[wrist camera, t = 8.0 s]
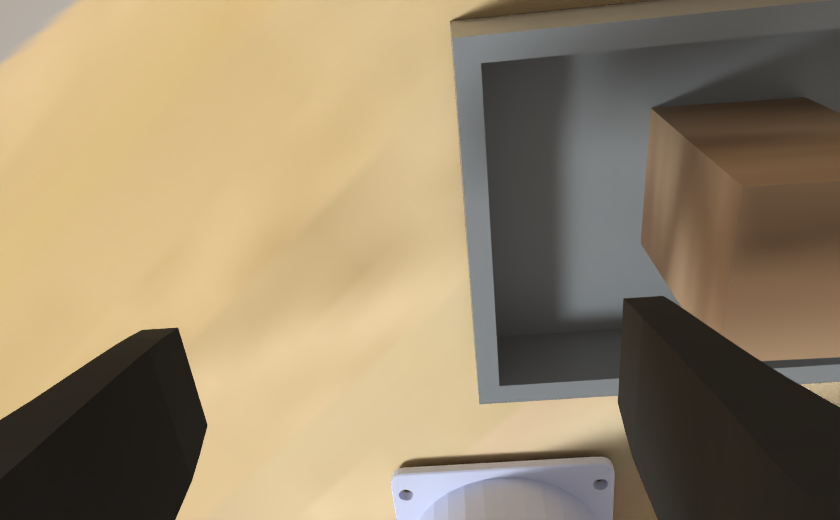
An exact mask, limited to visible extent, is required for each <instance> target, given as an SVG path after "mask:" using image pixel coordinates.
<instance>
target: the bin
mask: <svg viewBox="0 0 840 520" xmlns="http://www.w3.org/2000/svg"><path fill="white" fill-rule="evenodd" d="M450 25H451V39H452V52H453V65H454V79H455V92H456V105H457V118H458V132H459V145H460V158H461V171H462V185H463V198H464V211H465V225H466V238H467V251H468V264H469V278H470V291H471V304H472V317H473V331H474V344H475V356H476V368H477V379H478V391H479V403H480V404H491V403H507V402H523V401H539V400H555V399H571V398H587V397H603V396H618V391H619V372H620V353H621V334H622V315H623V298H637V297H653V296H664V297H666V298H668V299H669V300H671V301H672V302H674V303H676V304H677V305H679V306H680V304H679V303H678V301H677V300H676V298H675V296H674V295H673V293H672V292H671V290H670V289H669V287H668V286H667V284H666V282H665V281H664V279H663V278H662V276H661V275H660V273H659V271H658V270H657V268H656V267H655V265H654V264H653V262H652V260H651V259H650V257H649V256H648V254H647V253H646V251H645V249H644V248H643V246H642V245H641V231H642V218H643V205H644V191H645V178H646V165H647V152H648V139H649V126H650V112H651V108H661V107H675V106H688V105H702V104H716V103H730V102H744V101H757V100H771V99H785V98H799V97H806V98H808V99H810V100H812V101H815V102H817V103H819V104H821V105H823V106H825V107H828V108H830V109H832V110H834V111H836V112H838V113H840V0H650V1H640V2H631V3H621V4H611V5H601V6H591V7H582V8H572V9H562V10H552V11H542V12H533V13H523V14H513V15H503V16H493V17H484V18H474V19H464V20H454V21H450ZM680 307H681V306H680ZM762 362H763V363H765V364H766V365H768V366H770V367H771V368H773V369H775V370H776V371H778V372H779V373H781V374H783V375H784V376H786V377H787V378H789V379H791V380H793V381H794V382H796V383H798V384H810V383H826V382H840V357H833V358H813V359H793V360H773V361H762Z"/></svg>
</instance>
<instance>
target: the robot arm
mask: <svg viewBox="0 0 840 520" xmlns="http://www.w3.org/2000/svg"><path fill="white" fill-rule="evenodd" d="M618 405H619V409H620V412H621V416H622V420H623V424H624V428H625V432H626V435H627V439H628V443H629V446H630V450H631V453H632V457H633V460H634V462H635V465H636V467H637V470H638V472H639V475H640V477H641V479H642V482H643V484H644V487H645V489H646V492H647V494H648V496H649V499H650V501H651V504H652V506H653V508H654V511H655V513H656V516H657V518H658V520H840V407H838V406H836V405H834V404H833V403H831V402H829V401H827V400H825V399H824V398H822V397H820V396H818V395H817V394H815V393H813V392H812V391H810V390H808V389H806V388H805V387H803V386H801V385H800V384H798V383H796V382H794V381H793V380H791V379H789V378H787V377H786V376H784V375H783V374H781V373H779V372H778V371H776V370H775V369H773V368H771V367H770V366H768V365H766V364H765V363H763V362H762V361H760V360H759V359H757V358H755V357H754V356H752V355H751V354H749V353H748V352H746V351H745V350H743V349H742V348H740V347H739V346H737V345H736V344H734V343H733V342H731V341H730V340H728V339H727V338H725V337H724V336H722V335H721V334H719V333H718V332H717V331H715V330H714V329H712V328H711V327H709V326H708V325H706V324H705V323H703V322H702V321H701V320H699V319H698V318H696V317H695V316H693V315H692V314H690V313H689V312H687V311H686V310H685V309H683V308H682V307H680V306H679V305H677V304H676V303H674V302H672V301H671V300H669V299H668V298H666V297H664V296H653V297H637V298H623V315H622V334H621V353H620V372H619V391H618ZM206 429H207V422H206V419H205V416H204V412H203V409H202V406H201V402H200V399H199V396H198V392H197V389H196V386H195V382H194V379H193V376H192V373H191V369H190V366H189V363H188V359H187V356H186V353H185V349H184V346H183V343H182V339H181V336H180V333H179V329H178V328H166V329H151V330H141V331H140V332H138V333H136V334H134V335H132V336H130V337H128V338H127V339H125V340H123V341H121V342H120V343H118V344H117V345H115V346H113V347H112V348H110V349H109V350H107V351H106V352H104V353H102V354H101V355H99V356H98V357H96V358H95V359H93V360H92V361H90V362H89V363H87V364H86V365H84V366H83V367H81V368H80V369H78V370H77V371H75V372H74V373H72V374H71V375H69V376H68V377H66V378H65V379H63V380H62V381H60V382H59V383H57V384H56V385H54V386H53V387H51V388H50V389H48V390H47V391H45V392H44V393H42V394H41V395H39V396H38V397H36V398H35V399H33V400H32V401H30V402H28V403H27V404H25V405H24V406H22V407H20V408H19V409H17V410H16V411H14V412H12V413H11V414H9V415H8V416H6V417H4V418H3V419H1V420H0V520H175V519H176V517H177V514H178V512H179V510H180V507H181V505H182V503H183V500H184V498H185V496H186V493H187V491H188V489H189V486H190V484H191V482H192V479H193V475H194V472H195V469H196V465H197V462H198V459H199V456H200V452H201V448H202V444H203V440H204V437H205V433H206ZM599 479H604V480H602V481H600V482H595V481H596V480H599ZM614 481H615V471H614V467H613V464H612V462H611V461H610V460H609V459H608V458H606V457H581V458H564V459H546V460H529V461H511V462H493V463H476V464H458V465H440V466H423V467H405V468H399V469H397V470H395V471H394V472H393V474H392V477H391V489H392V495H393V501H394V507H395V514H396V520H613V504H614ZM402 490H409V491H410V492H403V491H402Z"/></svg>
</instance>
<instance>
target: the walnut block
mask: <svg viewBox="0 0 840 520" xmlns="http://www.w3.org/2000/svg"><path fill="white" fill-rule="evenodd" d="M641 245H642V246H643V248H644V249H645V251H646V253H647V254H648V256H649V257H650V259H651V260H652V262H653V264H654V265H655V267H656V268H657V270H658V271H659V273H660V275H661V276H662V278H663V279H664V281H665V282H666V284H667V286H668V287H669V289H670V290H671V292H672V293H673V295H674V296H675V298H676V300H677V301H678V303H679V304H680V306H681V307H682V308H683V309H685V310H686V311H687V312H689V313H690V314H692V315H693V316H695V317H696V318H698V319H699V320H701V321H702V322H703V323H705V324H706V325H708V326H709V327H711V328H712V329H714V330H715V331H717V332H718V333H719V334H721V335H722V336H724V337H725V338H727V339H728V340H730V341H731V342H733V343H734V344H736V345H737V346H739V347H740V348H742V349H743V350H745V351H746V352H748V353H749V354H751V355H752V356H754V357H755V358H757V359H759V360H760V361H773V360H793V359H813V358H833V357H840V113H838V112H836V111H834V110H832V109H830V108H828V107H825V106H823V105H821V104H819V103H817V102H815V101H812V100H810V99H808V98H806V97H799V98H785V99H771V100H757V101H744V102H730V103H716V104H702V105H688V106H675V107H661V108H651V112H650V126H649V139H648V152H647V165H646V178H645V191H644V205H643V218H642V231H641Z"/></svg>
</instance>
